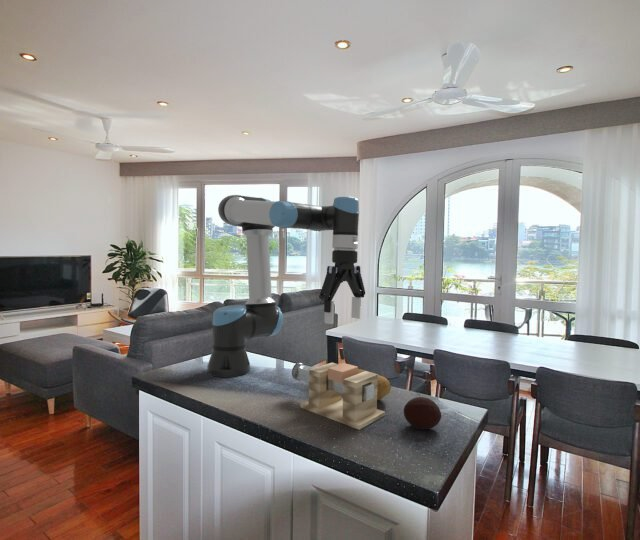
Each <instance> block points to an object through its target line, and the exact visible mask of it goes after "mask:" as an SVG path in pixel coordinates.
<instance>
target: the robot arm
mask: <svg viewBox="0 0 640 540" xmlns="http://www.w3.org/2000/svg"><path fill="white" fill-rule="evenodd" d="M217 211H218V215H219V218H220V219H221V220H222V222H224V223H225V224H228V225H229V226H231V227H232V226H233V227H238V228H239V227H241V232H242V234H243V235H244V236H245V237H246V256H247V259H246V261H247V280H248V299H247V301H246V302H245V304H244V305H243V304H234V305H226V306H220V307H218V308H216V309H215V310H214V311H213V315H212V322H211V324H212V351H211V354H210V357H209V360H208V364H207V367H206V368H207V369H206V371H207V374H208V375H211V376H213V377H219V378H232V377H238V376H240V377H241V376H243V375H247V374H248V373H249V372H250V371H251V363H250V360H249V356H248V353H247V350H246V341H249V340H254V339H261V338H269V337H272V336H275V335H277V334H278V333H279V332H280V330H281V329H282V326H283V323H284V322H283V321H284V318H283V317H284V314H283V312H282V309H281V308H280V307H279V306H277V304H276V303H277V301H276V300H275V299H274V298H273V297H272V280H271V279H272V278H271V277H272V276H271V258H270V240H269V239H270V236H271V234H273V229H274V228H275V227H276V228H282V229H298V230H309V231H312V232H322V231H332V242H331V243H332V244H331V245H332V246H331V248H332V249H334V250H332V252H331V253H332V254H331V256H332V257H331V262H332V263H333V264H334V266H333V265H331V266H330V265H327V268H326V275H325V278H324V280H323V284H322V286H321V290H320V292H319V295H318V296H319V299H320V300H321V301H323V302H324V303H323V305H324V306H323V312H324V322H323V323H324V324H328V325H334V323H335V322H334V321H335V320H334V317H335V301H334V300H333V299H334V297H335V295H336V293H337V291H338V289H339V288H340V286H341V284H342V283H344V282H347V284H348V287H349V289H350V291H351V293H352V295H353V296H351V319H358V320H359V319H361V304H362V303H361V302H362V298H364V297H365V295H366V289H365V285H364V281H363V277H362V273H361V272H362V271H361V266H360V265H355V264H357V263H358V251H357V249H358V246H359V245H358V244H359V243H358V241H359V222H360V221H359V220H360V219H359V218H360V205H359V199H358V198H357V197H353V196H338V197H334V199H333V203H332V205H325V206H324V205H323V206H321V205H313V204H306V203H305V204H304V203H301V202H299V203H298V202H293V201H287V200H277V201H273V200H269V199H267V198H263V197H256V196H246V195H240V194H231V195H227V196H226V197H225V196H224V198H223V199H222V200H220V202H219V204H218V208H217Z"/></svg>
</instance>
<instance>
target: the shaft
mask: <svg viewBox="0 0 640 540" xmlns="http://www.w3.org/2000/svg"><path fill="white" fill-rule="evenodd" d="M313 368H315V367H313V366H309V365H306V364H305V363H303V362H296V363H295V364H294V365H293V368H292V369H291V376H292V378H293V380H296V381H298V382H299V381H302V382H304V383H308V384H309V369H313ZM326 389H330V390H333V391H336V392H339V393H342V395H343V383H339V382H336V381H333V380H329V379H328V375H327V385H326ZM372 398H374V384H371V383H367V384H365V385H363V386H362V400H364V401H368V400H370V399H372Z"/></svg>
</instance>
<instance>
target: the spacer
mask: <svg viewBox="0 0 640 540" xmlns="http://www.w3.org/2000/svg"><path fill="white" fill-rule="evenodd" d="M338 364H339V363H338ZM358 369H359V366H356V365H353V364H349V363H346V362H343V363H340V364H339V365H336V366H333V367H330V368H328V379H329V380H333V381H336V382H339V383H343V379H346V378H349V377H351V376H354V375H357V374H358Z"/></svg>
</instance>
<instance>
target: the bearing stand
mask: <svg viewBox="0 0 640 540" xmlns="http://www.w3.org/2000/svg"><path fill="white" fill-rule="evenodd" d="M336 365H339V363H335V362H329V363H326V364H323V365H320V366H316V367H314V368H313V369H309V383H308V400H307V401H305V402H302V403H300V408H301V409H304V410H306V411H309V412H311V413H314V414H317V415H320V416H322V417H324V418H327V419H329V420H333V421H335V422H337V423H341V424H343V425H346V426H349V427H350V428H353V429H355V430H362V429H363V428H366V427H367V426H368V425H370V424H372V423H374V422H376V421H377V420H379V419H381V418H383V417H385V415H386V411H384V410H381V409H378V400H377V384H378V375H379V374H378V373H375V372H372V371H369V372H367V371H368V370H365V372H362V373H359V374H357V375H354V376H351V377H349V378H346V379H343V394H342V393H339V392H336V391H333V390H330V389H326V385H327V375H328V368H330V367H333V366H336ZM371 372H372V373H371ZM367 383H371V384H374V398H372V399H370V400H368V401H364V400H362V386H363V385H365V384H367Z"/></svg>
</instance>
